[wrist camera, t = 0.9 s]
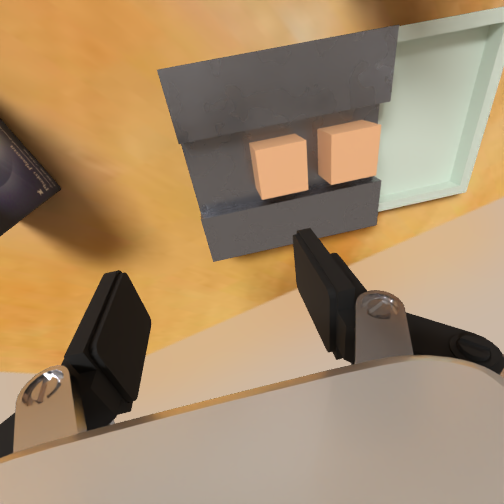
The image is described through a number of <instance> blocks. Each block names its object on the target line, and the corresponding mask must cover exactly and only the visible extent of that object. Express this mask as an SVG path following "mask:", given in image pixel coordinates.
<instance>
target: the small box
mask: <svg viewBox="0 0 504 504" xmlns="http://www.w3.org/2000/svg"><path fill="white" fill-rule="evenodd" d="M60 190H61V188H60V186H59V185H58V184H57V183H56V182H55V180H54V179H53V178H52V177H51V176H50V175H49V174H48V172H47V171H46V170H45V169H44V168H43V167H42V166H41V164H40V163H39V162H38V161H37V160H36V159H35V158H34V157H33V155H32V154H31V153H30V152H29V151H28V150H27V149H26V147H25V146H24V145H23V144H22V143H21V142H20V140H19V139H18V138H17V137H16V136H15V135H14V134H13V132H12V131H11V130H10V129H9V128H8V127H7V125H6V124H5V123H4V122H3V121H2V120H1V119H0V236H1V235H3V234H4V233H5V232H6V231H8V230H9V229H10V228H12V227H13V226H14V225H16V224H17V223H18V222H19V221H21V220H22V219H23V218H24V217H26V216H27V215H28V214H30V213H31V212H32V211H33V210H35V209H36V208H37V207H39V206H40V205H41V204H42V203H44V202H45V201H46V200H48V199H49V198H50V197H52V196H53V195H54V194H55V193H57V192H58V191H60Z"/></svg>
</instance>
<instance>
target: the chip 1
mask: <svg viewBox="0 0 504 504" xmlns="http://www.w3.org/2000/svg"><path fill="white" fill-rule="evenodd" d="M249 147H250V153H251V160H252V166H253V173H254V179H255V185H256V189H257V191H258V193H259V195H260V197H261V199H262V200H264V199H269V198H273V197H278V196H283V195H287V194H292V193H297V192H301V191H306V190H308V168H307V145H306V140H305V139H303V138H302V137H300V136H298V135H296V134H290V135H285V136H280V137H275V138H270V139H265V140H260V141H255V142H251V143H249Z"/></svg>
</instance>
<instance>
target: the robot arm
mask: <svg viewBox="0 0 504 504" xmlns="http://www.w3.org/2000/svg"><path fill="white" fill-rule="evenodd" d="M293 247H294V259H295V271H296V282H297V287H298V290H299V293H300V295H301V297H302V299H303V301H304V303H305V305H306V307H307V309H308V311H309V314H310V316H311V318H312V320H313V322H314V324H315V326H316V329H317V331H318V333H319V335H320V337H321V339H322V341H323V343H324V346H325V348H326V349H327V351H328V352H333V354H334V356H335V358H336V360H338V359H341V358H344V360H346V361H349V362H351V365H349V366H345V367H340V368H336V369H332V370H327V371H323V372H319V373H315V374H311V375H307V376H303V377H299V378H295V379H291V380H287V381H282V382H279V383H274V384H270V385H266V386H262V387H258V388H254V389H250V390H246V391H242V392H238V393H234V394H230V395H226V396H222V397H219V398H214V399H210V400H206V401H202V402H199V403H194V404H191V405H187V406H183V407H179V408H175V409H171V410H167V411H163V412H159V413H155V414H151V415H148V416H143V417H140V418H136V419H132V420H128V421H124V422H120V423H116V424H115V423H114V419H115V418H116V416H117V415H118V414H122V413H126V412H130V411H131V408H132V403H133V401H135V400H136V399H137V397H138V392H139V386H140V381H141V376H142V371H143V366H144V360H145V355H146V350H147V345H148V339H149V334H150V329H151V319H150V316H149V314H148V312H147V310H146V309H145V307H144V305H143V303H142V301H141V299H140V297H139V295H138V293H137V292H136V290H135V288H134V286H133V284H132V282H131V280H130V278H129V277H128V275H127V274H126V273H122V272H121V271H119V270H118V271H114V272H109V273H105V274H104V275H103V277H102V279H101V281H100V283H99V285H98V287H97V289H96V291H95V294H94V296H93V298H92V300H91V302H90V304H89V306H88V308H87V310H86V312H85V314H84V316H83V318H82V320H81V323H80V325H79V327H78V329H77V331H76V333H75V335H74V337H73V339H72V341H71V343H70V345H69V347H68V349H67V352H66V354H65V356H64V360H63V362H62V365H61V366H59V365H57V366H53V367H49V368H47V369H45V370H43V371H41V372H40V373H38V374H37V375H35V376H34V377H33V378H32V379H31V380H30V381H28V382H27V383H26V385H25V386H24V387H23V388H22V389H21V391H20V393H19V395H18V397H17V400H16V409H15V413H14V414H13V415H12V416H10V417H9V418H8V419H7V420H5V421H4V422H3V423H1V424H0V504H504V354H502V353H501V351H500V350H499V348H498V347H496V346H495V345H494V344H493V343H492V342H490V341H489V340H487V339H486V338H484V337H482V336H479V335H477V334H474V333H471V332H468V331H465V330H462V329H458V328H455V327H451V326H448V325H445V324H442V323H439V322H435V321H432V320H429V319H426V318H422V317H419V316H416V315H412V314H409V313H406V312H405V308H404V305H403V303H402V302H401V301H400V300H399V298H397V297H396V296H394V295H392V294H390V293H387V292H384V291H377V290H374V291H367V290H366V289H365V288H364V286H363V285H362V284H361V283H360V281H359V280H358V279H357V278H356V276H355V275H354V274H353V273H352V271H351V270H350V269H349V268H348V266H347V265H346V264H345V262H344V261H343V260H342V259H341V257H340V256H339V255H338V254H337V253H332V254H330V253H329V252H328V251H327V249H326V248H325V247H324V245H323V244H322V243H321V241H320V240H319V239H318V237H317V236H316V235H315V233H314V232H313V231H312V229H311V228H306V229H302V230H297V233H296V234H295V235H293Z"/></svg>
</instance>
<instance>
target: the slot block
mask: <svg viewBox="0 0 504 504" xmlns="http://www.w3.org/2000/svg"><path fill="white" fill-rule="evenodd" d="M398 31H399V25H394V26H389V27H384V28H378V29H373V30H368V31H362V32H357V33H352V34H346V35H341V36H336V37H330V38H325V39H320V40H314V41H309V42H303V43H298V44H293V45H287V46H282V47H277V48H271V49H266V50H261V51H255V52H250V53H245V54H239V55H234V56H229V57H223V58H218V59H212V60H207V61H202V62H196V63H191V64H186V65H180V66H175V67H170V68H164V69H159V70H157V71H158V75H159V78H160V81H161V85H162V88H163V92H164V95H165V98H166V102H167V105H168V109H169V112H170V116H171V119H172V122H173V126H174V129H175V133H176V136H177V139H178V143H179V144H181V146H182V149H183V152H184V156H185V159H186V163H187V166H188V170H189V173H190V177H191V180H192V184H193V187H194V190H195V194H196V197H197V201H198V204H199V208H200V211H201V221H202V225H203V228H204V231H205V235H206V238H207V242H208V245H209V248H210V252H211V255H212V259H213V262H215V261H219V260H224V259H228V258H233V257H237V256H241V255H246V254H250V253H255V252H259V251H264V250H268V249H272V248H277V247H281V246H286V245H290V244H293V235H295V234H296V233H297V230H302V229H306V228H311V229H312V231H313V232H314V233H315V235H316V236H317V237H318V238H321V237H326V236H330V235H335V234H339V233H343V232H348V231H352V230H357V229H361V228H366V227H370V226H375V225H377V216H378V207H379V198H380V189H381V181H382V180H380V179H378V178H377V177H375V176H371V177H366V178H361V179H357V180H352V181H348V182H343V183H338V184H334V185H331V184H329V183H328V182H327V181H326V180H324V179H323V178H322V177H321V176H319V175H318V138H317V129H319V128H324V127H329V126H334V125H339V124H344V123H348V122H353V121H358V120H365V121H369V122H373V123H377V124H378V116H379V105H380V103H385V102H390V101H391V92H392V84H393V75H394V66H395V57H396V48H397V40H398ZM290 134H296V135H298V136H300V137H302V138H303V139H305V140H306V145H307V168H308V190H306V191H301V192H297V193H292V194H287V195H283V196H278V197H273V198H269V199H264V200H262V199H261V197H260V195H259V193H258V191H257V189H256V185H255V179H254V173H253V166H252V160H251V153H250V147H249V143H251V142H255V141H260V140H265V139H270V138H275V137H280V136H285V135H290Z"/></svg>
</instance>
